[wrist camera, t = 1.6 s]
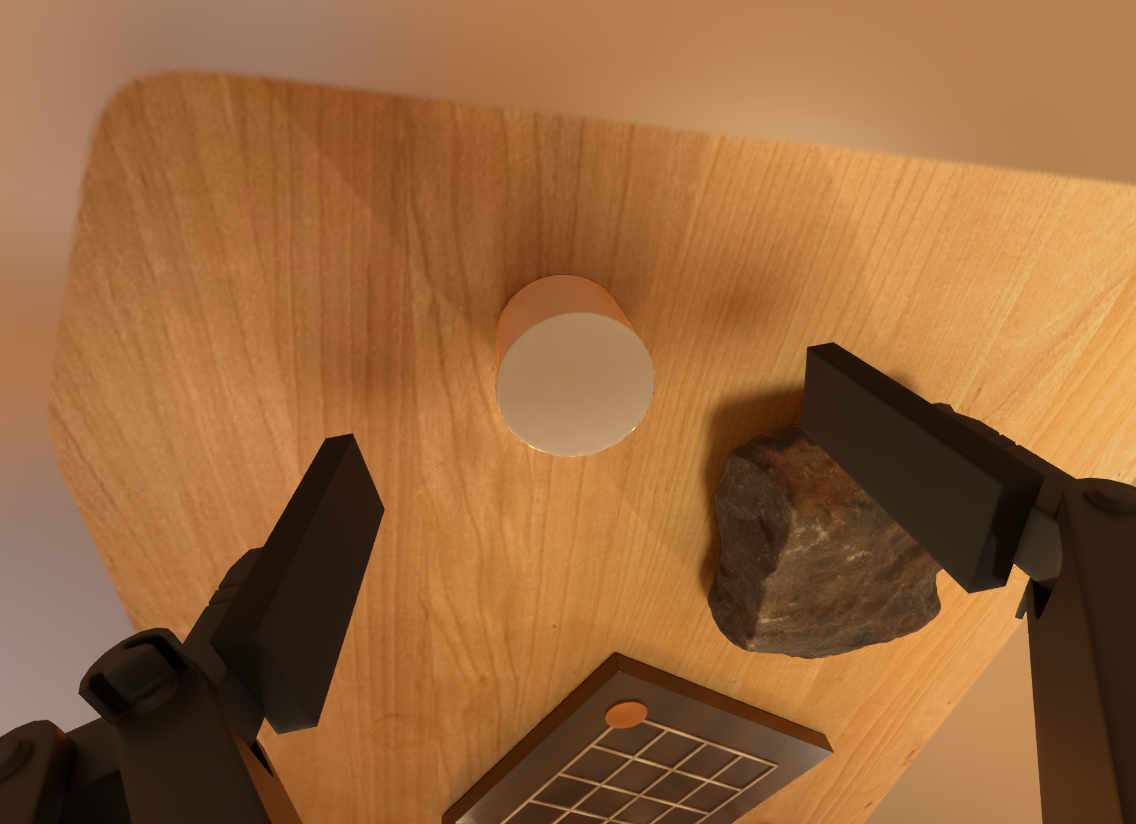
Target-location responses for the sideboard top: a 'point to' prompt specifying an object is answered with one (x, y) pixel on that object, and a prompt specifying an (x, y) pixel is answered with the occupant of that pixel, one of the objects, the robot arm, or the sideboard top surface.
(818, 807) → the sideboard top surface
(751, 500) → the stone
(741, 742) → the grid board
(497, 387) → the white short cylinder
